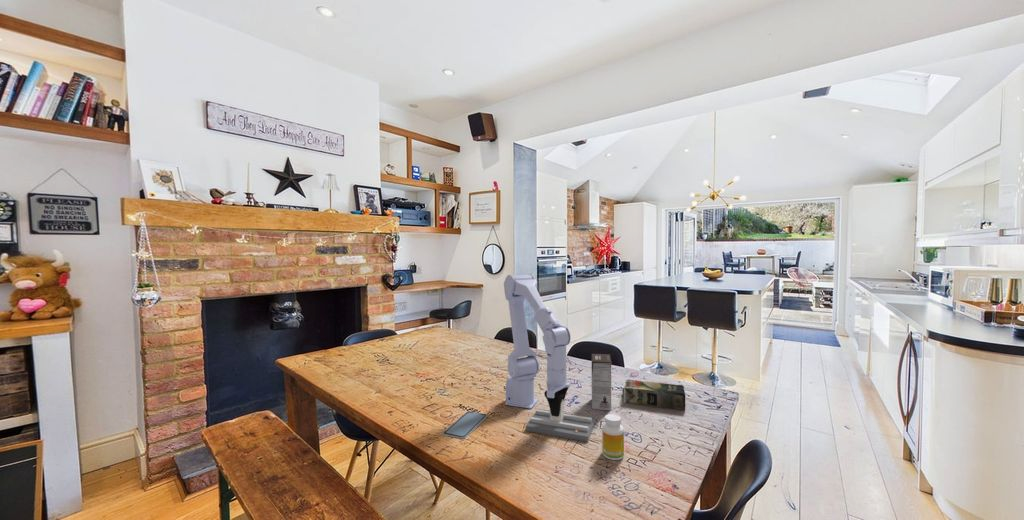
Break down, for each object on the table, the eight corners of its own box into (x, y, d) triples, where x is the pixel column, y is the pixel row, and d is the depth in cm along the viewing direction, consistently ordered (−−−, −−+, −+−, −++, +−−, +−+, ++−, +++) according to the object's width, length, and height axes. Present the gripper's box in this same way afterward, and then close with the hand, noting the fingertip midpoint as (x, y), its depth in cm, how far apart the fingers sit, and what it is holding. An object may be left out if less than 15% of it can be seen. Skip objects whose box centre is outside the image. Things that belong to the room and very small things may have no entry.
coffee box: (591, 398, 129) (591, 353, 129) (610, 399, 128) (610, 354, 127) (591, 409, 120) (591, 360, 120) (612, 411, 119) (611, 361, 118)
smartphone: (441, 433, 105) (467, 410, 119) (441, 436, 105) (467, 413, 119) (464, 438, 102) (488, 414, 116) (464, 441, 102) (488, 417, 116)
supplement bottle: (626, 461, 91) (626, 422, 90) (604, 460, 91) (604, 422, 91) (620, 449, 96) (620, 412, 96) (600, 449, 96) (599, 412, 96)
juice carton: (620, 403, 125) (621, 385, 125) (622, 393, 134) (623, 376, 134) (685, 412, 118) (685, 394, 118) (683, 401, 127) (683, 383, 127)
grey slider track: (525, 430, 106) (525, 422, 106) (538, 413, 118) (538, 405, 117) (588, 442, 100) (588, 433, 100) (594, 422, 111) (594, 414, 111)
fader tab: (549, 421, 108) (549, 402, 108) (553, 416, 112) (553, 397, 111) (560, 423, 107) (560, 404, 106) (564, 417, 110) (564, 398, 110)
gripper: (564, 377, 100) (564, 426, 101) (575, 361, 114) (575, 405, 114) (539, 374, 103) (539, 421, 103) (553, 359, 116) (553, 401, 117)
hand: (556, 412), depth 109 cm, fingers closed on fader tab, 3 cm apart
